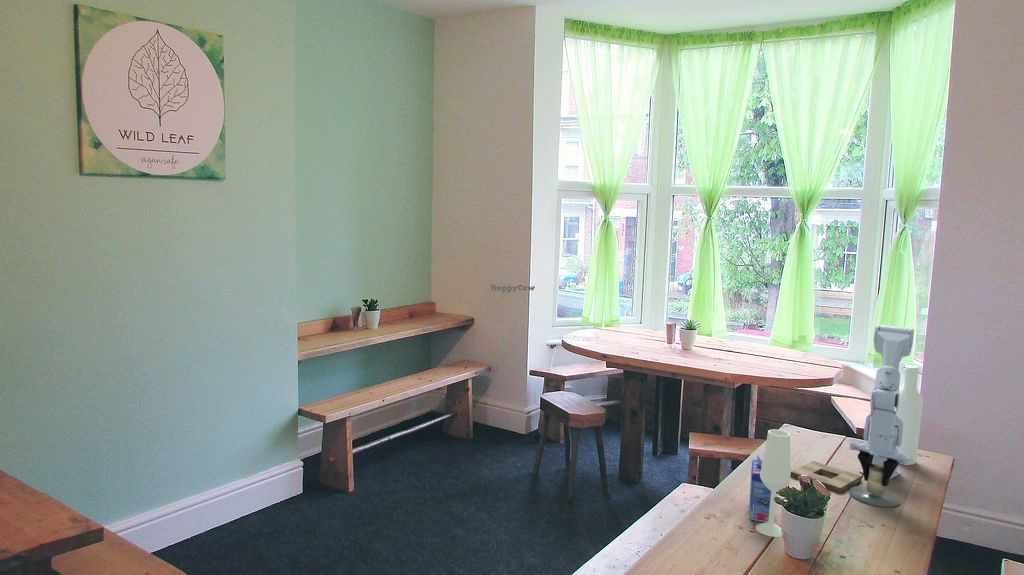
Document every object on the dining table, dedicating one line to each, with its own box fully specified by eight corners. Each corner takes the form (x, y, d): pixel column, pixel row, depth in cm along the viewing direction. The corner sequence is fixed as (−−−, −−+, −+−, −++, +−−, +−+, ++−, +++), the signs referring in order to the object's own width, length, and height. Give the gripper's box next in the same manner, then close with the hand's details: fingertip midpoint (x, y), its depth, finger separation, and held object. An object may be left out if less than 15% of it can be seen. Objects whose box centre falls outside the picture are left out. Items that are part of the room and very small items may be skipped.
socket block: (812, 465, 204) (813, 460, 203) (861, 480, 193) (861, 475, 193) (790, 476, 194) (790, 471, 194) (839, 493, 184) (840, 487, 184)
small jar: (869, 487, 185) (872, 462, 184) (885, 492, 182) (888, 467, 181) (864, 491, 182) (866, 466, 181) (880, 496, 179) (883, 471, 178)
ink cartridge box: (747, 503, 175) (752, 450, 173) (770, 507, 173) (775, 453, 172) (748, 520, 166) (752, 463, 164) (772, 524, 164) (777, 467, 162)
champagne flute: (783, 525, 164) (791, 429, 161) (787, 538, 157) (796, 439, 154) (753, 521, 165) (762, 426, 162) (757, 534, 159) (765, 435, 156)
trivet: (860, 484, 191) (860, 482, 190) (906, 499, 182) (907, 497, 182) (842, 495, 183) (842, 493, 183) (889, 511, 174) (889, 509, 174)
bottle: (886, 461, 209) (897, 367, 206) (886, 453, 216) (897, 362, 213) (916, 467, 206) (928, 371, 202) (915, 459, 212) (926, 366, 209)
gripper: (846, 429, 183) (842, 477, 184) (905, 444, 172) (899, 495, 174) (857, 424, 187) (852, 471, 189) (915, 439, 177) (909, 488, 178)
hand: (876, 482), depth 182 cm, fingers closed on small jar, 4 cm apart
